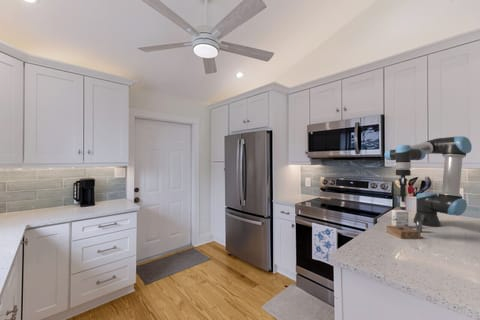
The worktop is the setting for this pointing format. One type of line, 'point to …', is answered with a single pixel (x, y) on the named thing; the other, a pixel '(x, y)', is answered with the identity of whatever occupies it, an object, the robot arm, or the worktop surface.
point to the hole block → (403, 232)
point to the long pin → (403, 207)
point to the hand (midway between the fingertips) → (402, 206)
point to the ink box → (399, 218)
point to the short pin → (419, 226)
